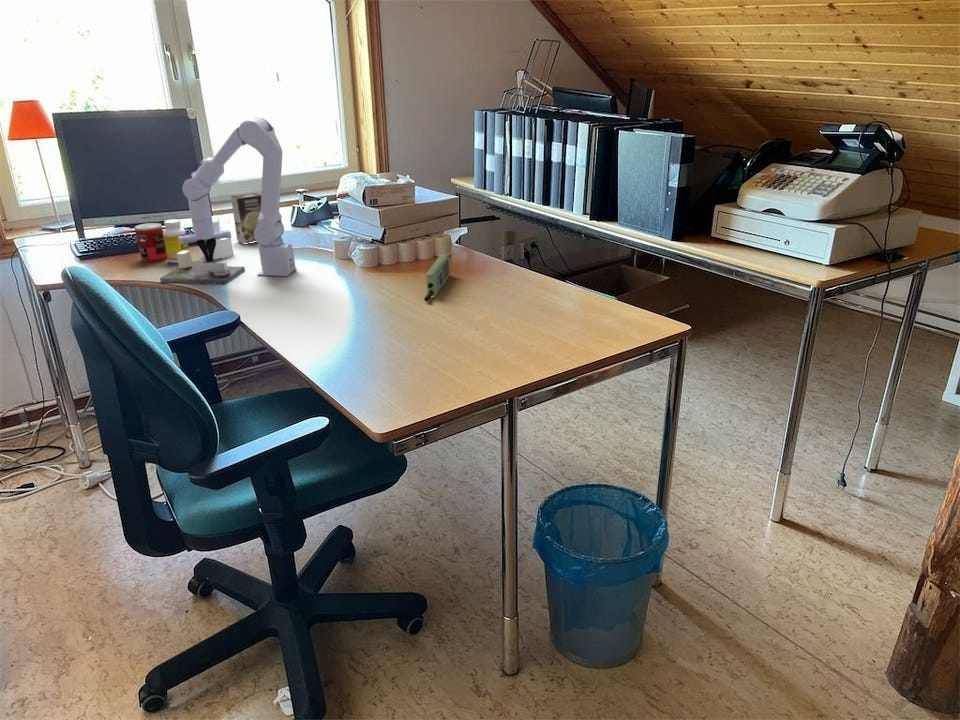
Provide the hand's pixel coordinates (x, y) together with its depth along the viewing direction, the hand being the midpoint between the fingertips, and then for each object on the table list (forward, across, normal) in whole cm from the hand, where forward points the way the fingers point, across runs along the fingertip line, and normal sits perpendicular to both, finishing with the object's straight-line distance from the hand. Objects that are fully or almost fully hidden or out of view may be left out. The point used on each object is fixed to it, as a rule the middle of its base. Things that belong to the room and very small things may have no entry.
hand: (210, 264), depth 210 cm
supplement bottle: (+3, -7, +19) cm, 20 cm away
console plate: (+3, -3, -3) cm, 5 cm away
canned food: (+3, -14, +25) cm, 29 cm away
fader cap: (+1, -7, +5) cm, 8 cm away
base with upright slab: (+3, +5, +19) cm, 20 cm away
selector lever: (+1, -1, -7) cm, 7 cm away
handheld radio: (+3, +53, -48) cm, 72 cm away
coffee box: (+3, +19, +32) cm, 37 cm away
